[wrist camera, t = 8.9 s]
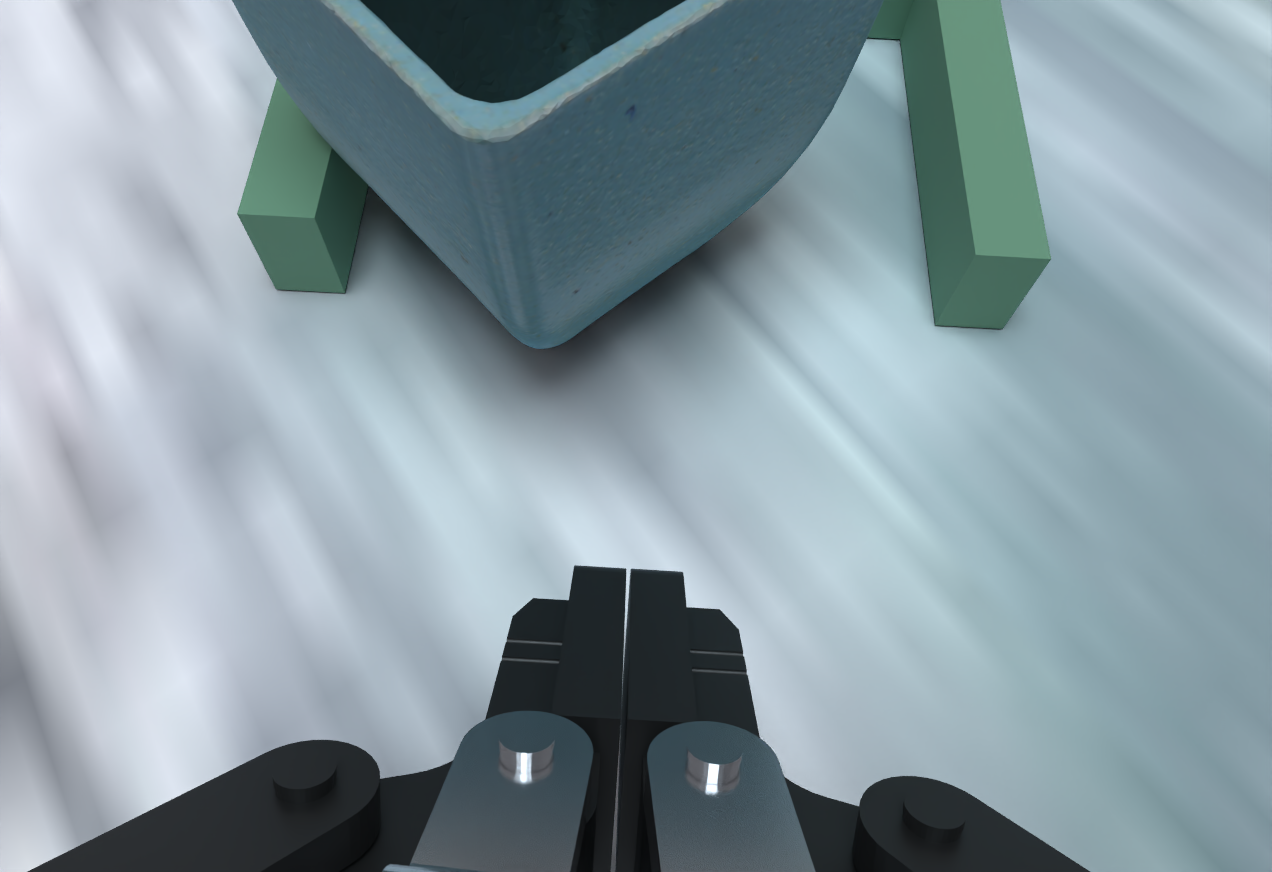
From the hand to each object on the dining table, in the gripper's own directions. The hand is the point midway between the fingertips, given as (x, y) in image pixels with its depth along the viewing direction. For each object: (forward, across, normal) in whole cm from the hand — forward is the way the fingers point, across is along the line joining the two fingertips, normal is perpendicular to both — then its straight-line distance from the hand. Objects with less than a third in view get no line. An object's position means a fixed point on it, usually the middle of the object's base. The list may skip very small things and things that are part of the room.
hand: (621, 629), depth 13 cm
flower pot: (+11, +2, -4) cm, 12 cm away
